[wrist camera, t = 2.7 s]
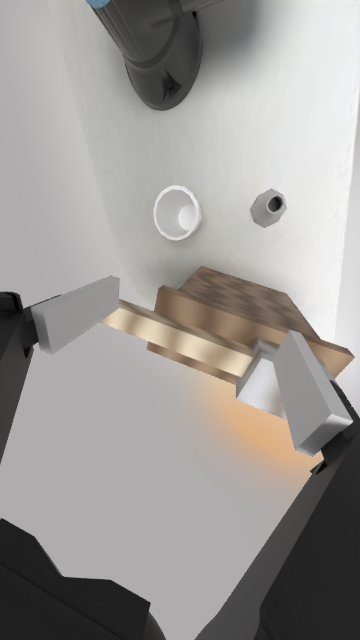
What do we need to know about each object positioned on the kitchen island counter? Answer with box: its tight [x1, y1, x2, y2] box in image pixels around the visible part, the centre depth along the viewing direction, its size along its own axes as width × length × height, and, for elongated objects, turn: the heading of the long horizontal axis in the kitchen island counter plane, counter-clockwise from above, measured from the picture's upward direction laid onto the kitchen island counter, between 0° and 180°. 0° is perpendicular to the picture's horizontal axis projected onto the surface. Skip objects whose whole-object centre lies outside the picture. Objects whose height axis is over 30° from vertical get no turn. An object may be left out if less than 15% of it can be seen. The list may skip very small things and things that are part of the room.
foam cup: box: [153, 186, 202, 241], centre depth 42 cm, size 10×9×13 cm
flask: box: [250, 189, 286, 228], centre depth 38 cm, size 7×7×10 cm
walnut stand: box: [147, 266, 355, 385], centre depth 41 cm, size 28×12×28 cm, turn 75°
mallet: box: [100, 299, 338, 420], centre depth 27 cm, size 33×8×5 cm, turn 75°
